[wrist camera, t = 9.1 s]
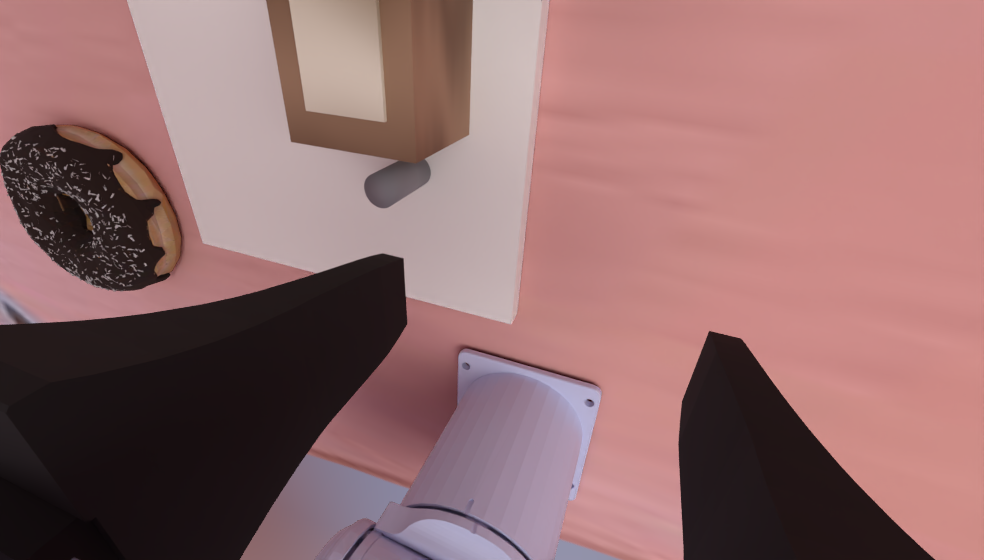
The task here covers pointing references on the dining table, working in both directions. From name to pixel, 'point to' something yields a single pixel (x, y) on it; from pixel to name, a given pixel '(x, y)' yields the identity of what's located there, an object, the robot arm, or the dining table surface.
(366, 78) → the brown rectangular box
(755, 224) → the dining table surface
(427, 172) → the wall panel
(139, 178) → the donut
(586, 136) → the dining table surface
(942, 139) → the dining table surface
